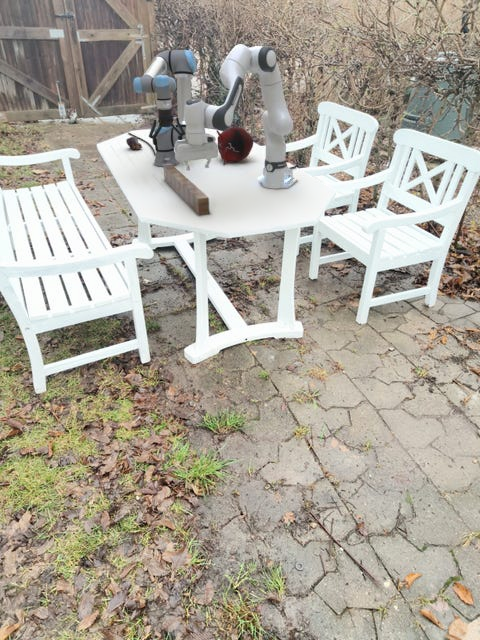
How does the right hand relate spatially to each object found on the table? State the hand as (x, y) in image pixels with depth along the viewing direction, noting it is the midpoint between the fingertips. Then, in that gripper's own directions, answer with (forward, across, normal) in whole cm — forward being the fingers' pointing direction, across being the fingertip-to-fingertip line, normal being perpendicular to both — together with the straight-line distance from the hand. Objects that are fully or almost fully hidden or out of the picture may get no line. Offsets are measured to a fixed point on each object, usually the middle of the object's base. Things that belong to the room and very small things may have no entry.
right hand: (197, 169), depth 212 cm
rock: (+21, -3, +137) cm, 138 cm away
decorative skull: (+21, +52, +79) cm, 97 cm away
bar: (+21, 0, +26) cm, 33 cm away
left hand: (+2, 0, +51) cm, 51 cm away
